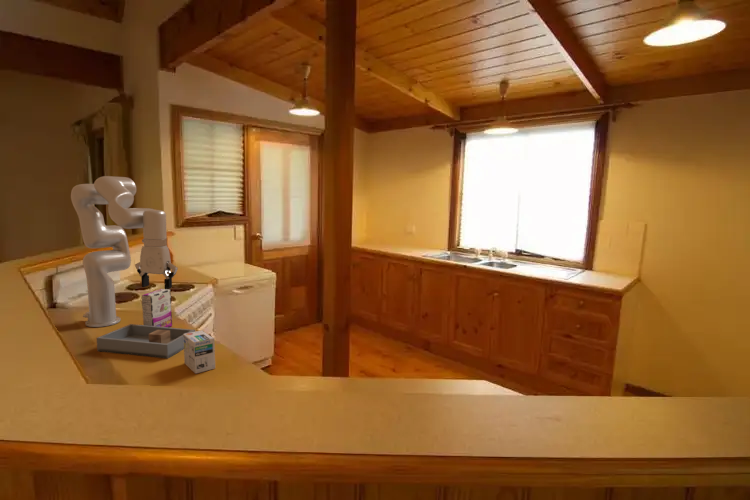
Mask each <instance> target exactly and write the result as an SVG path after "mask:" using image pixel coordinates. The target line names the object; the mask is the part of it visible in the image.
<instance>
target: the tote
mask: <svg viewBox="0 0 750 500" xmlns="http://www.w3.org/2000/svg"><path fill="white" fill-rule="evenodd" d="M156 330H169V331H170V341H171V342H169V343H167V344H165V343H155V342H149V334H150V333H152V332H154V331H156ZM191 332H196V329H189V328H179V327H158V326H147V325H144V324H135V323H129V324H126V325H124V326H122V327H120V328H118V329H116V330H113V331H110V332H108V333H106V334H104V335H100V336H98V337H96V351H97V352H102V353H112V354H120V355H128V354H129V355H132V356H137V357H138V356H140V357H150V358H158V359H159V358H160V359H167V360H168V359H169V358H171V357H173V356H174V355H176V354H178V353H179V352H182V351H184V336H183V334H185V333H191Z"/></svg>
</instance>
